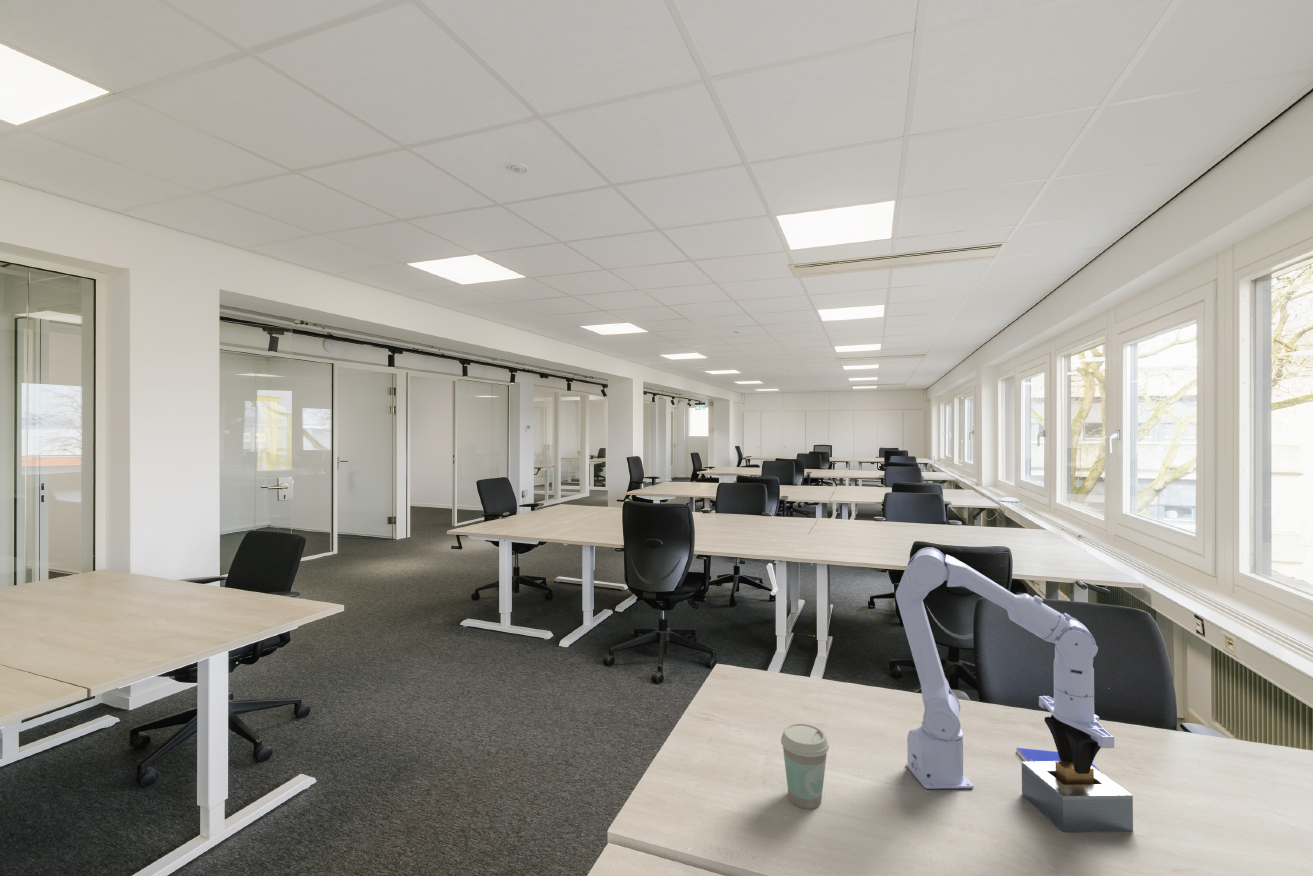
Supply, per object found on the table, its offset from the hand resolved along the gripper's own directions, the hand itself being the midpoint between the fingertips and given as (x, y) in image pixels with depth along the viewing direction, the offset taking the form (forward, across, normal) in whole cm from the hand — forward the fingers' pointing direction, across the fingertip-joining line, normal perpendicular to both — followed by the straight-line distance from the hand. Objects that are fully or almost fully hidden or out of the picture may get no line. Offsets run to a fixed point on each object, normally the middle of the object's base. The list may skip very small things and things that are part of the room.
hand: (1074, 766), depth 96 cm
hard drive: (+9, +14, -8) cm, 18 cm away
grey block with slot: (+8, 0, 0) cm, 8 cm away
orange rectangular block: (+4, 0, 0) cm, 4 cm away
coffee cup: (+8, +4, +47) cm, 48 cm away
